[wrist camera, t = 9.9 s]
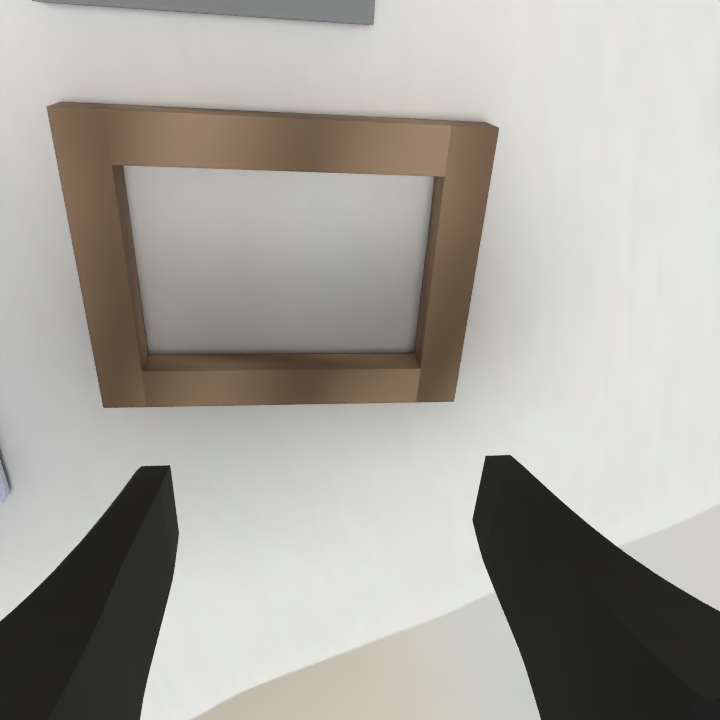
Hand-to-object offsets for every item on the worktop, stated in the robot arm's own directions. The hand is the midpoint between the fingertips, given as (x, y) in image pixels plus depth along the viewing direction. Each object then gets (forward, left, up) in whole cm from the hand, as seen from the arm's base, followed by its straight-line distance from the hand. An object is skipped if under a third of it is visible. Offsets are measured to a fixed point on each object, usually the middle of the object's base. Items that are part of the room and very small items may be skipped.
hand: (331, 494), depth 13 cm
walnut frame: (-1, +2, -9) cm, 10 cm away
